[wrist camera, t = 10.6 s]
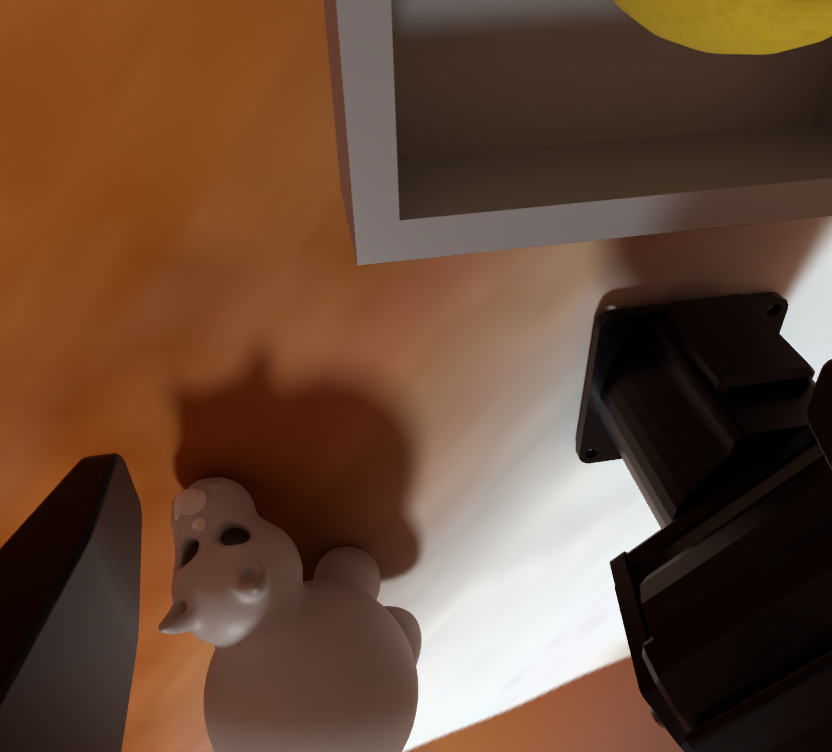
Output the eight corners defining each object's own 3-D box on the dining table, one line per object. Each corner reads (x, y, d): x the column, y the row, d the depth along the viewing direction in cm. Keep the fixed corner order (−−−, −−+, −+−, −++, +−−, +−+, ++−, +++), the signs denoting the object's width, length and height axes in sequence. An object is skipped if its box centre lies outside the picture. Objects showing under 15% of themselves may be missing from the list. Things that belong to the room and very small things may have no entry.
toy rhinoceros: (306, 392, 27) (266, 498, 19) (445, 637, 30) (461, 817, 22) (139, 472, 28) (32, 606, 20) (292, 702, 31) (255, 897, 23)
